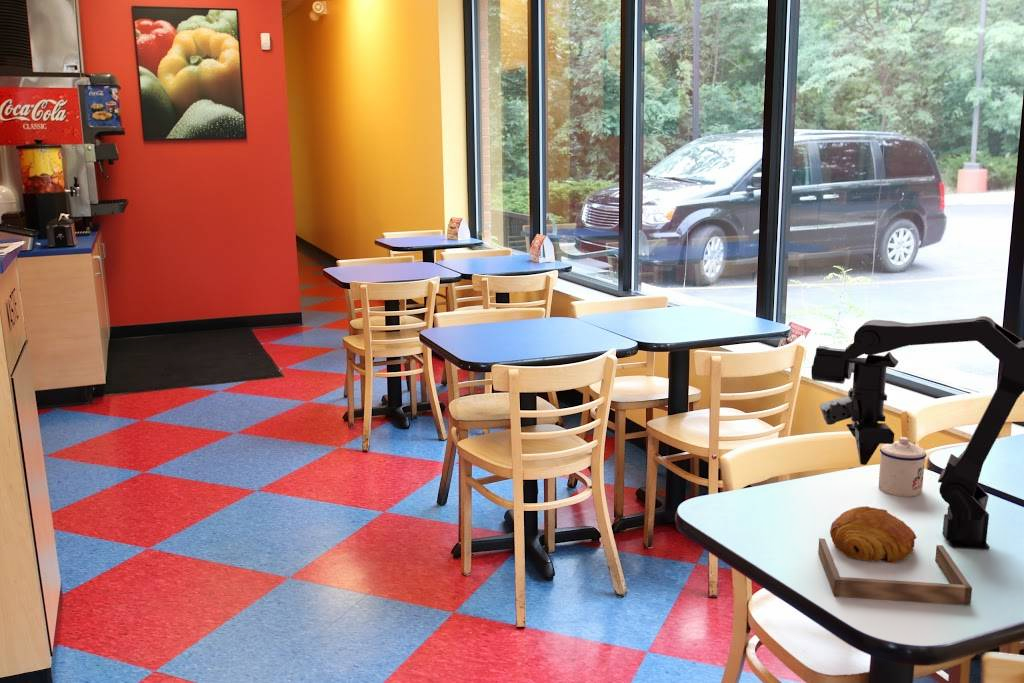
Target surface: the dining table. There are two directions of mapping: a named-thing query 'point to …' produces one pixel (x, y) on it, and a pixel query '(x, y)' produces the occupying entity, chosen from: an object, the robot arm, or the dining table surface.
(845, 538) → the croissant
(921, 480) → the teacup with lid
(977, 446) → the robot arm
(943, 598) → the walnut u-shaped frame
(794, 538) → the dining table surface
